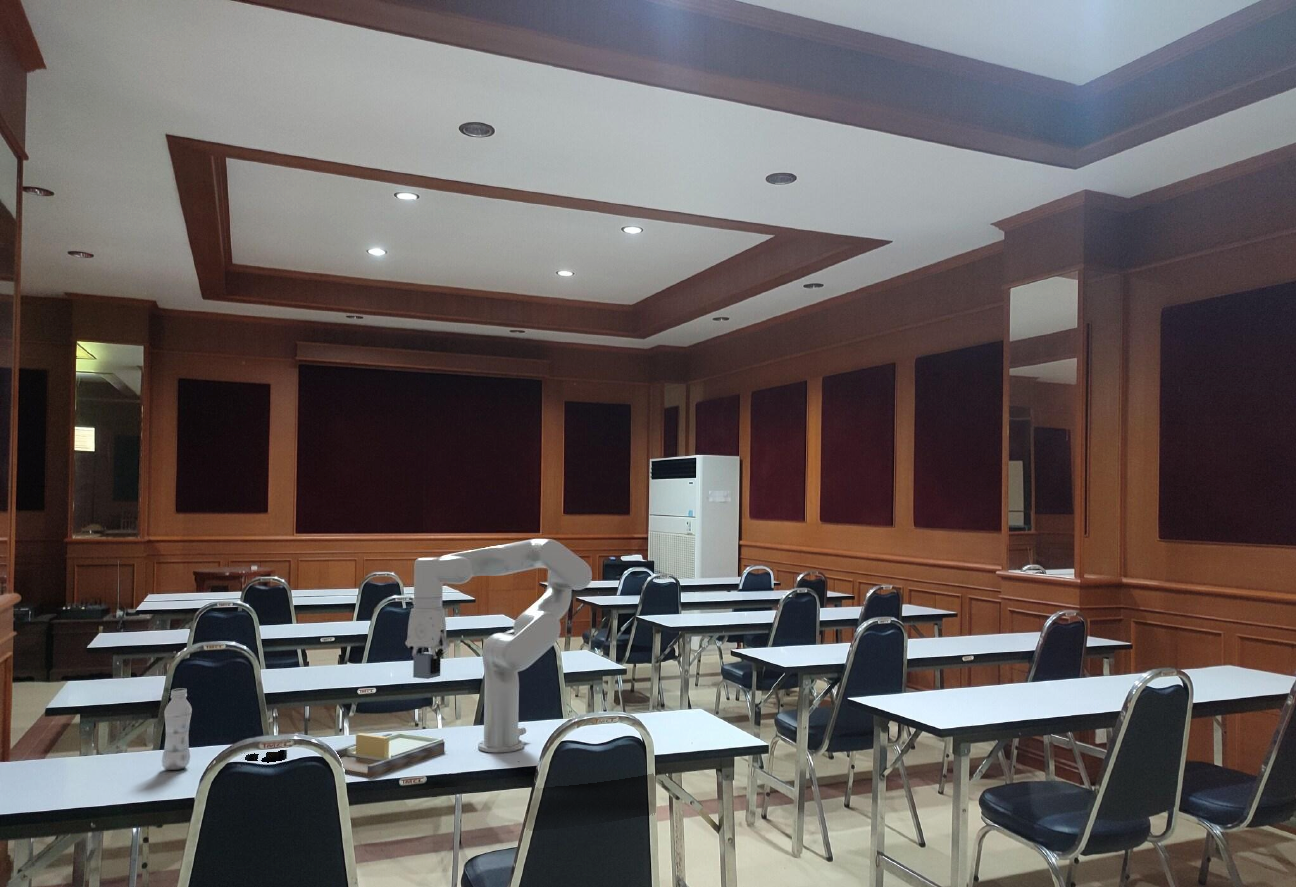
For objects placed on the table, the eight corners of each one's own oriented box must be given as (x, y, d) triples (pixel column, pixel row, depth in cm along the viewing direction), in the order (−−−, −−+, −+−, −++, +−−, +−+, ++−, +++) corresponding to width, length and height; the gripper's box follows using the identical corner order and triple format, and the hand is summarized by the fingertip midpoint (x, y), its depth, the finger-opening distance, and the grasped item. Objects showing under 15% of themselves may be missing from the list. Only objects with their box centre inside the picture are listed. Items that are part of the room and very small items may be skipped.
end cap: (285, 764, 238) (286, 738, 238) (287, 771, 231) (288, 744, 232) (243, 769, 234) (244, 742, 234) (244, 776, 227) (245, 748, 228)
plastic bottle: (158, 773, 229) (161, 692, 231) (164, 766, 236) (168, 687, 237) (186, 771, 231) (189, 691, 232) (192, 764, 237) (195, 686, 239)
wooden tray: (399, 738, 261) (399, 718, 261) (443, 745, 253) (443, 724, 254) (347, 755, 243) (347, 732, 243) (393, 762, 236) (393, 739, 236)
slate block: (425, 674, 248) (426, 651, 248) (440, 675, 245) (440, 653, 246) (413, 677, 243) (413, 654, 244) (427, 678, 241) (428, 655, 241)
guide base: (388, 743, 260) (389, 733, 260) (444, 751, 251) (444, 741, 251) (312, 767, 235) (312, 756, 235) (371, 777, 226) (371, 766, 226)
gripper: (394, 603, 246) (393, 671, 245) (443, 606, 238) (442, 677, 237) (413, 601, 253) (412, 667, 252) (462, 603, 245) (461, 672, 244)
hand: (427, 671), depth 244 cm, fingers closed on slate block, 5 cm apart
